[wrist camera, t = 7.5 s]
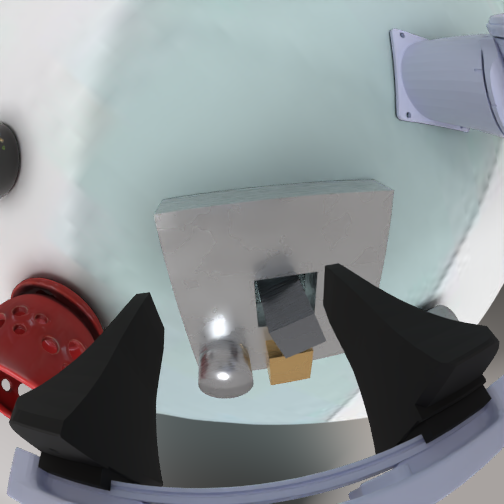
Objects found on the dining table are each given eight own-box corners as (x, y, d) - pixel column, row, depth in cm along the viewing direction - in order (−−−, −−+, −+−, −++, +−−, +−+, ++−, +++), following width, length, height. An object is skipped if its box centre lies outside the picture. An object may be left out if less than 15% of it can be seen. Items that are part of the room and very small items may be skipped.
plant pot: (70, 366, 26) (45, 445, 16) (0, 288, 20) (-51, 363, 9) (144, 345, 25) (126, 452, 14) (61, 240, 19) (-17, 340, 8)
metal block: (288, 256, 22) (314, 313, 16) (300, 282, 23) (326, 340, 17) (254, 271, 22) (269, 333, 16) (269, 297, 24) (285, 358, 18)
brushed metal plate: (373, 179, 19) (419, 205, 14) (352, 328, 27) (374, 369, 22) (162, 199, 18) (142, 235, 13) (202, 352, 26) (202, 401, 21)
